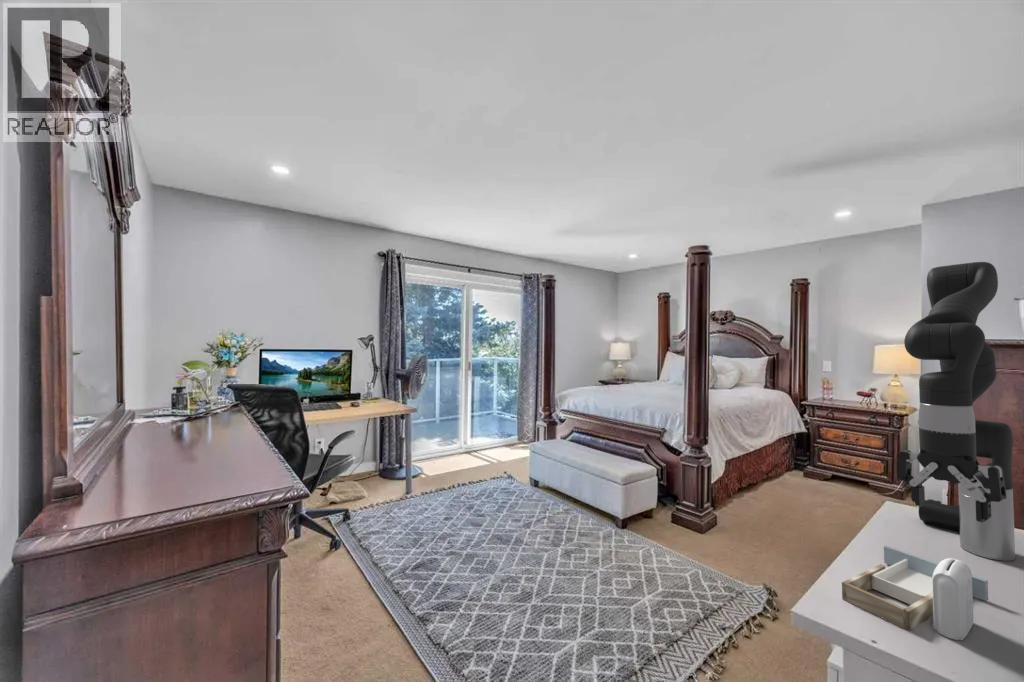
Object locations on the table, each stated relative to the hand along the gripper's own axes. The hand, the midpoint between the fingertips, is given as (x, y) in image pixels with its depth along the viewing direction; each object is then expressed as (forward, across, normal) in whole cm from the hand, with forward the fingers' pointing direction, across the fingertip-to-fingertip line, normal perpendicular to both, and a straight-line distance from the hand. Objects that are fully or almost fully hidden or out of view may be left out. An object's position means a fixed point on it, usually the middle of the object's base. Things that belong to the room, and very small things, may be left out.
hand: (949, 512), depth 79 cm
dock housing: (+22, +9, 0) cm, 23 cm away
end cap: (+22, +20, -54) cm, 62 cm away
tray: (+22, +9, -8) cm, 25 cm away
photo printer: (+22, 0, 0) cm, 22 cm away
